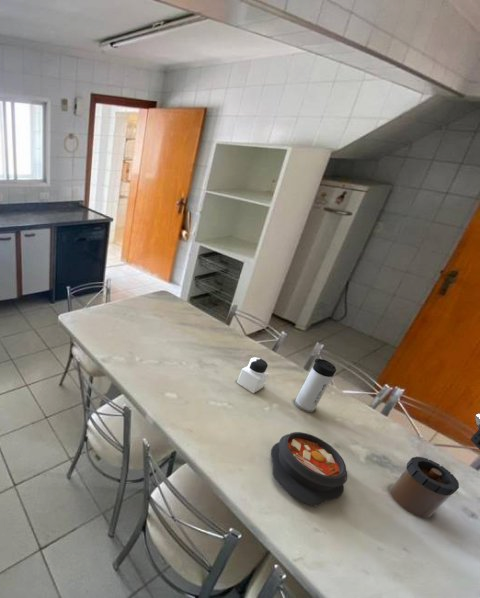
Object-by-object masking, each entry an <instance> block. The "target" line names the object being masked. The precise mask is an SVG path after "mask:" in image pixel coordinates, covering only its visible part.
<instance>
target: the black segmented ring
mask: <svg viewBox="0 0 480 598" xmlns="http://www.w3.org/2000/svg"><path fill="white" fill-rule="evenodd" d="M405 467H406V468H405V469H407V471H408V472H409V474H410V475H411V476H412V477H413V478H414V479H415V480H416V481H417V482H418V483H420V484H421V485H423V486H424V487H426V488H427V489H429V490H431V491H433V492H436V493H438V494H442V495H447V496H448V495H451V494H452V495H454V494H455V493H456V491H457V490H459V488H460V482H459V480H458V479H457V478H456V477H455V475H454V474H453V473H452V472H451V471H450V470H448V469H447V468H446V467H444V466H443V465H441V464H440V463H438V462H436V461H433V459H428V458H426V457H423V456H413V457H412V458H410V459H409V461H408V462H407V463H406V466H405ZM419 467H422V468H425V469H427V470H429V471H430V470H431V469H432V468H435V469H437V470H439V471H440V472H441V473H442V475H441V476H440V478H441V479H442V480H443V482H444V483H445V484H442V483H439V482H437V481H435V480H433V479H431V478H429V477H428V476H427V475H426V474H424V473H423V472H422V471H421V470H420V468H419ZM452 495H451V496H452Z"/></svg>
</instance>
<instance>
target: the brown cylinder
mask: <svg viewBox="0 0 480 598" xmlns="http://www.w3.org/2000/svg"><path fill="white" fill-rule="evenodd" d="M419 468H420V470H421V471H422V472H423V473H424V474H426V475H427V476H428V477H429V478H431V479H433V480H435V481H437V482H439V483H442V484H445V483H444V482H443V480H442V479H441V478H440V476H441V475H442V473H441V472H440V471H439V470H437V469H435V468H432V469H431V470H430V471H429V470H427V469H425V468H422V467H419ZM389 493H390V495H391V497H392V498H393V499H394V501H395V502H396V503H397V504H398V505H399V506H400V507H401V508H402V509H403V510H405V511H407V512H409V513H411V514H412V515H415V516H417V517H420V518H425V519H427V518H431V516H432V515H433V514H435V512H437V510H438V509H439V508H440V507H441V506H442V505H443V504H444V503H445V502H446V501H447V500H448V499H449V498H450V497H451V496H453V494H451V495H448V496H447V495H442V494H438V493H436V492H433V491H431V490H429V489H427V488H426V487H424V486H423V485H421V484H420V483H418V482H417V481H416V480H415V479H414V478H413V477H412V476H411V475H410V474H409V472H408V471H407V468H405V469H404V471H403V472H402V473H401V475H400V476H399V477H398V478H397V480H396V481H395V482H394V483H393V484H392V485H391V487H390V488H389Z"/></svg>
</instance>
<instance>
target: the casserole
mask: <svg viewBox="0 0 480 598" xmlns="http://www.w3.org/2000/svg"><path fill="white" fill-rule="evenodd" d="M270 458H271V463H272V476H273V478H274V480H275V481H276V483H278V485H279V486H280V487H281V488H283V490H284V491H286V493H288V494H290V495H291V496H292V497H293V498H295V499H297V500H298V501H300V502H303V503H304V504H307V505H310V506H312V507H313V506H314V507H319V506H320V505H322V504H324V503H326V502H328V501H333V500H336V499H338V498H340V497H341V496H342V495H343V494H344V490H345V486H344V485H345V484H346V482H347V481H348V471H347V465H346V463H345V460H344V459H343V457H342V456H341V455H340V453H339V452H338V451H337V450H336V449H335V448H334V447H333V446H331V445H330V444H329V443H328V442H327V441H324V440H323V439H321V438H319V437H317V436H315V435H313V434H311V433H308V432H307V433H306V432H301V431H294V432H290V433H288V434H285V435H283V436H282V437H281V438H280V439H279V441H278V442H276V443H275V444H274V445H272V447H271V450H270Z"/></svg>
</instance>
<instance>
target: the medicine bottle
mask: <svg viewBox="0 0 480 598" xmlns="http://www.w3.org/2000/svg"><path fill="white" fill-rule="evenodd" d="M268 367H269V365H268V363H267V361H266V360H264V359H262V358H260V357H251V358H250V359H249V363H248V365H247V366H245V367H243V368H242V369H241V371H240V374H239V376H238V379H237V381H236V383H237V384H238V385H240V386H241V387H242V388H244V389H246V390H247V391H249V392H250V393H252V394H255V393H257V392H258V391H259V390H261V389H263V388H264V386H265V383H266V381H267V379H268V377H269V375H270V373H269V372H267V369H268Z"/></svg>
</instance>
